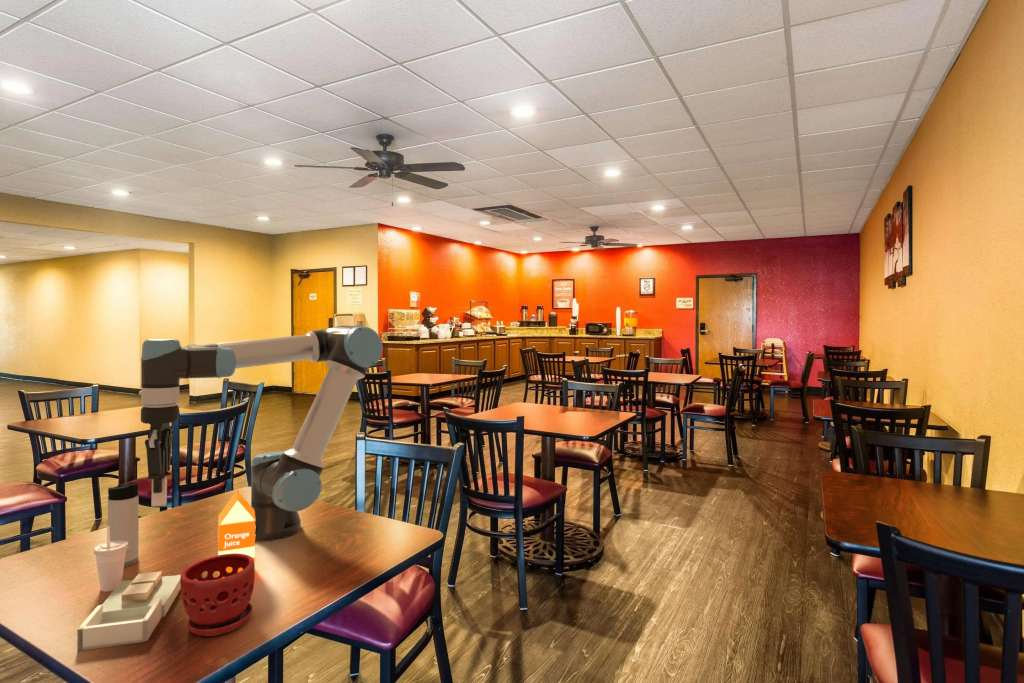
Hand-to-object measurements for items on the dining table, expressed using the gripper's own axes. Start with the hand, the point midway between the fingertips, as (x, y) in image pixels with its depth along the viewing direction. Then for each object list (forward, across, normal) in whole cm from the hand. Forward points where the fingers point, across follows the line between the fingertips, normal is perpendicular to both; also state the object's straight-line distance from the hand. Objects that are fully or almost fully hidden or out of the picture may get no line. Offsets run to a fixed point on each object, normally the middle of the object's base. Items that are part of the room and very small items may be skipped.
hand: (159, 505), depth 127 cm
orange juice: (+18, +4, +17) cm, 25 cm away
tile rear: (+15, +9, 0) cm, 18 cm away
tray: (+18, +23, 0) cm, 29 cm away
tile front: (+15, +14, 0) cm, 21 cm away
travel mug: (+18, -12, -11) cm, 24 cm away
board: (+18, +12, 0) cm, 21 cm away
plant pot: (+18, +25, +17) cm, 35 cm away
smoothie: (+18, +2, -9) cm, 20 cm away
